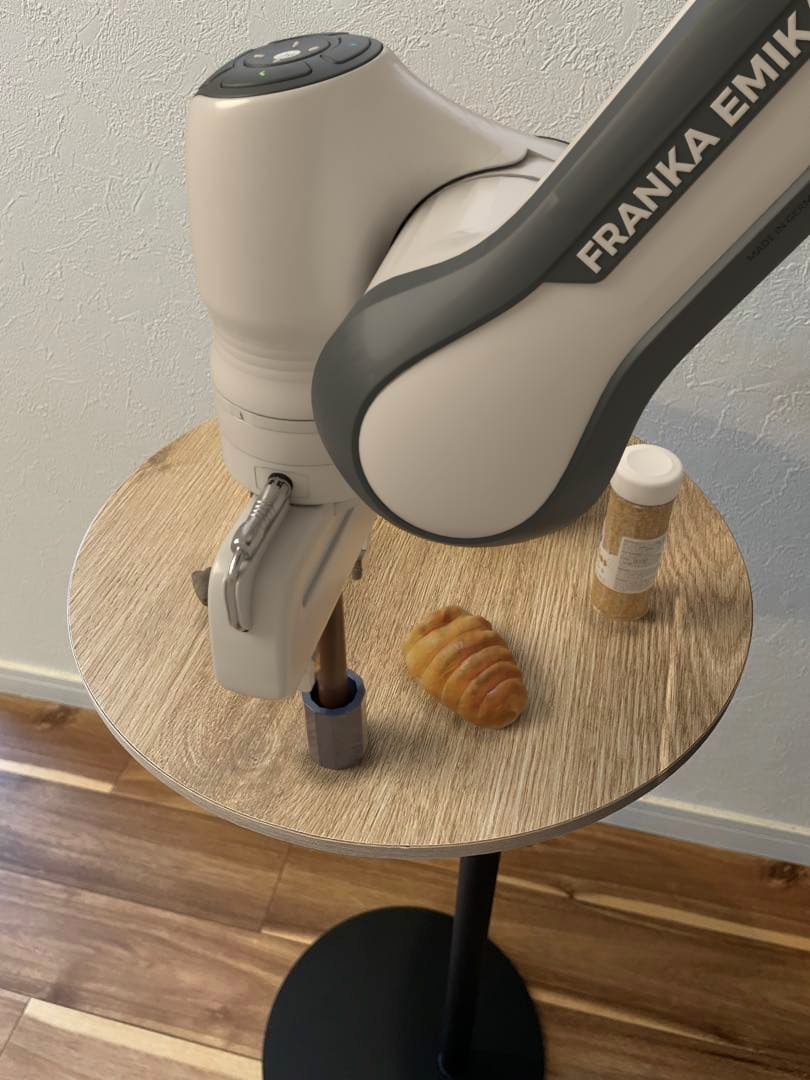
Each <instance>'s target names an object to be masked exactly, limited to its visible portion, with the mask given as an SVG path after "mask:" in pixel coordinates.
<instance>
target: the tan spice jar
mask: <svg viewBox="0 0 810 1080" xmlns="http://www.w3.org/2000/svg"><path fill="white" fill-rule="evenodd" d="M683 477H684V465H683V463H682V461H681V460H680V458H679V457H678V456H677V455H676V454H675V453H674V452H673V451H670V450H669V449H667V448H665V447H662V446H658V445H655V444H647V443H638V444H637V443H636V444H632V445H627V446H626V449H625V451H624V453H623V456H622V458H621V460H620V463H619V465H618V467H617V469H616V471H615V473H614V475H613V477H612V479H611V481H610V494H609V500H608V503H607V510H606V514H605V517H604V521H603V525H602V531H601V536H600V537H601V538H600V541H599V545H598V551H597V556H596V561H595V568H594V571H595V572H594V576H593V581H592V587H591V588H590V590H589V591H590V592H589V595H588V600H589V603H590V605H591V608H592V609H593V610H594V611H595V612H596V613H597V614H598V615H600V616H601V617H604V618H605V619H607V620H611V621H613V622H621V623H629V622H630V623H631V622H635V621H638V620H640V619H641V618H642V617H644V616H646V615H647V613H648V612H649V610H650V606H651V605H650V604H651V603H650V599H651V595H652V590H653V587H654V584H655V583H656V579H657V575H658V571H659V568H660V563H661V559H662V555H663V552H664V549H665V544H666V539H667V535H668V531H669V527H670V521H671V515H672V511H673V508H674V503H675V500H676V499H677V497H678V495H679V493H680V490H681V487H682V481H683Z"/></svg>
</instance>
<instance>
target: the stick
mask: <svg viewBox="0 0 810 1080" xmlns="http://www.w3.org/2000/svg"><path fill="white" fill-rule="evenodd" d="M343 590H344V589H343ZM343 590H342V592H341V595H340V597H339V599H338V601H337V603H336V605H335V607H334V610H333V612H332V614H331V616H330V618H329V620H328V622H327V625H326V627H325V629H324V631H323V633H322V635H321V637H320V640H319V642H318V644H317V646H316V648H315V650H314V651H317V652H319V655H320V663H319V665H320V668H321V670H320V672H319V674H318V677H317V680H318V691H319V702H320V707H322V708H327V709H331V710H333V709H338V708H343V707H345V706H347V705H348V704H349V692H348V675H347V668H348V659H347V641H346V624H345V623H346V622H345V607H344V605H345V604H344V591H343Z"/></svg>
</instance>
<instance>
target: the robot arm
mask: <svg viewBox="0 0 810 1080" xmlns="http://www.w3.org/2000/svg"><path fill="white" fill-rule="evenodd" d="M184 168H185V169H184V170H185V171H184V172H185V173H184V174H185V193H186V205H187V219H188V229H189V237H190V246H191V253H192V261H193V268H194V269H193V270H194V275H195V282H196V286H197V287H196V288H197V290H198V292H199V296H200V298H201V300H202V302H203V304H204V306H205V308H206V310H207V313H208V315H209V317H210V321H211V325H212V343H211V348H210V355H209V375H210V381H211V388H212V392H213V393H212V394H213V400H214V406H215V413H216V422H217V429H218V435H219V441H220V447H221V454H222V460H223V463H224V467H225V468H226V470H227V472H228V473H229V475H230V476H231V477H232V479H234V481H236V482H237V483H238V484H239V485H240V486H241V487H243V488H244V489H246V490H247V491H249V492H250V491H251V492H253V493H254V494H253V496H252V497H251V498H250V499H249V500H248V502H247V504H246V505H245V506H244V509H243V510H242V512H241V513H240V515H239V517H238V518H237V520H236V521H235V523H234V525H232V527H231V529H230V531H229V533H228V534H227V535H226V537H225V539H224V540H223V542H222V544H221V546H220V547H219V549H218V550H217V553H216V555H215V558H214V560H213V563H212V566H211V567H212V569H211V573H210V578H209V586H208V607H207V615H208V616H207V617H208V632H209V642H210V655H211V661H212V662H211V663H212V669H213V675H214V678H215V681H216V683H217V684H218V685H219V686H220V687H221V688H223V689H225V690H227V691H229V692H231V693H236V694H238V695H243V696H246V697H251V698H256V699H260V700H266V701H267V700H268V701H288V700H289V699H291V698H292V697H293V696H294V694H296V692H300V693H301V692H305V693H307V692H310V691H311V690H312V688H313V686H314V683H315V682H316V679H317V677H318V674H319V672H320V670H321V668H320V665H319V663H320V655H319V652H317V651H315V648H316V646H317V644H318V642H319V640H320V637H321V635H322V633H323V631H324V629H325V627H326V625H327V622H328V620H329V618H330V616H331V614H332V612H333V610H334V607H335V605H336V603H337V601H338V599H339V597H340V595H341V592H342V590H344V589H345V586H346V584H347V582H348V579H351V581H360V580H362V578H363V576H364V574H365V572H366V571H367V568H368V566H369V564H370V559H371V558H370V557H371V556H370V543H371V539H372V535H373V531H374V524H375V522H376V520H377V518H378V516H379V517H381V518H382V519H383V520H385V521H386V522H388V523H389V524H391V525H392V526H394V527H396V528H397V529H400V530H402V531H403V532H406V533H408V534H410V535H413V536H415V537H416V538H420V539H422V540H426V541H429V542H432V543H436V544H439V545H440V544H441V545H445V546H450V547H458V548H471V549H473V548H475V549H476V548H479V549H480V548H482V549H486V548H499V547H505V546H510V545H516V544H521V543H526V542H529V541H532V540H533V541H534V540H535V539H539V538H542V537H546V536H549V535H552V534H554V533H556V532H558V531H560V530H563V529H564V528H566V527H568V526H569V525H572V524H573V523H575V522H576V521H577V520H579V519H580V518H581V517H582V516H584V515H585V514H586V513H587V512H588V511H589V510H590V509H592V507H593V506H594V505H595V504H596V503H597V501H598V500H600V498H601V497H602V495H603V494H604V492H605V490H606V489H607V488H608V486H609V484H611V482H610V481H611V479H612V477H613V475H614V473H615V471H616V469H617V467H618V465H619V463H620V460H621V458H622V456H623V453H624V451H625V449H626V447H628V444H629V442H630V439H631V437H632V435H633V433H634V431H635V428H636V425H637V424H638V422H639V420H640V419H641V416H642V414H643V412H645V409H646V407H647V406H648V404H649V402H650V401H651V400H652V398H653V396H654V395H655V393H656V392H657V390H658V389H659V388H660V387H661V385H662V384H663V382H664V381H665V380H666V379H667V378H668V377H669V376H670V374H671V373H672V372H673V370H674V369H675V368H677V366H678V365H679V364H680V363H681V362H682V361H683V359H685V357H686V356H687V355H688V354H689V353H691V352H692V350H693V349H694V348H695V347H696V346H697V345H698V344H699V343H701V342H702V341H703V339H704V338H705V337H707V335H708V334H710V333H711V332H712V330H713V329H715V327H717V326H718V325H719V324H720V323H721V322H722V321H723V320H724V319H725V318H726V317H727V316H728V315H729V314H730V313H731V312H732V311H733V310H734V309H735V308H736V307H737V306H738V305H740V304H741V302H742V301H744V299H746V297H748V295H749V294H751V293H752V292H753V291H754V289H756V288H757V287H758V286H759V285H760V284H761V283H762V282H763V281H764V280H765V279H766V278H767V277H768V276H769V275H771V273H773V271H775V269H776V268H778V267H779V265H781V264H782V263H783V262H784V261H785V260H786V259H787V258H788V257H789V256H790V255H791V254H792V253H793V252H794V251H795V250H796V249H797V248H798V247H799V246H800V245H801V244H802V243H803V242H805V240H806V239H807V238H808V237H809V236H810V0H687V1H686V2H685V3H684V5H683V6H682V7H681V8H680V10H679V11H678V12H677V14H676V15H675V16H674V17H673V18H672V19H671V20H670V22H669V23H668V24H667V25H666V27H665V28H664V29H663V30H662V31H661V33H660V34H659V35H658V36H657V37H656V39H654V42H652V44H650V46H649V47H648V48H647V50H646V51H645V52H644V53H643V54H642V56H641V57H640V58H639V59H638V60H637V62H636V63H635V64H634V66H633V67H632V68H631V69H630V71H628V73H627V74H626V75H625V76H624V77H623V79H622V80H621V81H620V82H619V84H618V85H617V86H616V87H615V88H614V90H613V91H612V92H611V93H610V94H609V96H608V97H607V98H606V100H604V102H603V103H602V104H600V106H599V108H598V109H597V110H596V112H595V113H594V114H593V115H592V116H591V117H590V118H589V120H588V121H587V122H586V123H585V124H584V126H583V127H582V128H581V130H580V131H579V132H578V133H577V134H576V135H575V136H574V138H573V139H572V141H571V142H569V141H566V140H563V139H560V138H556V137H551V136H545V135H533V134H530V133H527V132H525V131H521V130H519V129H515V128H513V127H510V126H507V125H505V124H502V123H501V122H497V121H495V120H493V119H490V118H488V117H486V116H483V115H481V114H480V113H477V112H476V111H474V110H471V109H469V108H467V107H466V106H464V105H462V104H460V103H458V102H456V101H454V100H453V99H451V98H449V97H448V96H446V95H444V94H443V93H441V92H439V91H438V90H436V89H435V88H433V87H432V86H431V85H429V84H427V83H426V82H425V81H423V80H422V79H421V78H419V76H417V75H416V74H415V73H414V72H412V71H411V70H410V68H409V67H407V66H406V65H405V64H404V62H403V61H402V60H401V58H399V57H398V55H397V54H396V53H395V51H393V50H392V49H391V48H390V46H388V45H387V44H385V43H384V42H383V41H380V40H378V39H376V38H374V37H370V36H366V35H361V34H353V33H349V32H345V31H324V32H314V33H306V34H301V35H295V36H289V37H285V38H282V39H277V40H273V41H270V42H269V43H267V44H264V45H261V46H259V47H258V46H257V47H256V48H250V49H246V50H245V51H243V52H241V53H240V54H238V55H237V56H235V57H234V58H231V59H230V60H229V61H227V62H226V63H224V64H223V65H222V66H221V67H219V68H218V69H216V70H215V71H214V72H213V73H212V74H211V75H210V76H208V77H207V78H206V80H204V81H203V83H202V84H201V85H199V87H198V90H197V91H195V93H194V95H193V96H192V98H191V99H190V102H189V105H188V109H187V115H186V122H185V136H184Z"/></svg>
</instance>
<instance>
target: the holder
mask: <svg viewBox="0 0 810 1080" xmlns="http://www.w3.org/2000/svg"><path fill="white" fill-rule="evenodd" d="M347 675H348V692H349V704H348V705H347V706H345V707H343V708H338V709H333V710H331V709H327V708H322V707H320V702H319V691H318V680H317V679H316V682H315V683H314V686H313V688H312V690H311V691H310V692H307V693H305V692H300V694H301V702H302V703H301V704H302V713H303V721H304V730H305V739H306V740H305V741H306V747H307V751H308V756H309V757H310V758H311V759H312V761H313V762H314V763H315V764H317V765H318V766H320V767H321V768H324V769H328V770H344V769H348V768H350V767H353V766H355V765H356V764H357V763H358V762H359V761H361V760H362V758H364V756H365V754H366V752H367V748H368V746H369V738H368V736H369V735H368V717H367V716H368V712H367V690H366V686H365V682H364V680H363V678H362V677H361V676H360V675H359V674H358V673H356V672H355V671H354V670H353V669H351V668H348V667H347Z"/></svg>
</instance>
